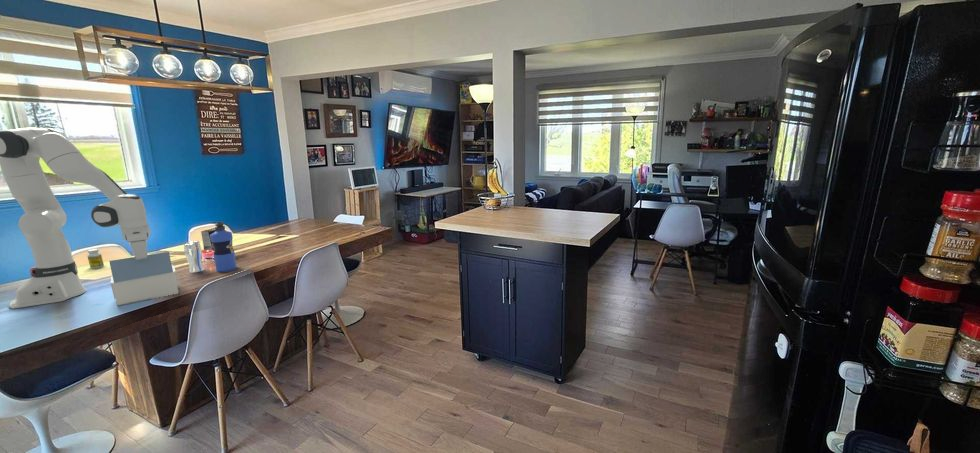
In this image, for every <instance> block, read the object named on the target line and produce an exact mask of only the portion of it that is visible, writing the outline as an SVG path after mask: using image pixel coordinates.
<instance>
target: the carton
mask: <svg viewBox="0 0 980 453" xmlns="http://www.w3.org/2000/svg"><path fill="white" fill-rule="evenodd" d="M172 269H173V272H171V273H165V274H160V275H154V276H149V277H143V278H138V279H132V280H127V281H121V282H116V283H114V281H113V276H112V275H111V276H110V286H111V292H112V295H113V298H114V300H115V301H116V305H117V307H120V306H121V307H122V306H126V305H130V304H136V303H139V302H145V301H149V300H156V299H158V298H159V297H160V298H164V296H165V297H168V295H169V296H173V294H174V295H178V293H180V292H179V281H178V277H177V276H178V275H177V271H176V268H175V266H174V264H172Z"/></svg>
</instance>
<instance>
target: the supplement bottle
mask: <svg viewBox="0 0 980 453" xmlns="http://www.w3.org/2000/svg"><path fill="white" fill-rule="evenodd" d="M87 253H88V254H87V260H88V264H89V267H90V269H99V268H102V267H104V266H105V264H104V260H103V256H102V255H103V254H102V253H101V252H99V248H92V249H88V250H87Z"/></svg>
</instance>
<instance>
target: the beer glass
mask: <svg viewBox="0 0 980 453" xmlns="http://www.w3.org/2000/svg"><path fill="white" fill-rule="evenodd" d="M201 246H202V245H201V242H200V241H199V240H195V241H194V240H193V241H188V242H187V241H186V242H184V243H183V251H184V255H185V258H186V260H187V263H188V267H189V268H188V269H189V271H188V272H189V273H192V274H194V273H200V272H203V271H204V270H205V269H204V267H203V263H202V259H203V258H202V257H203V256H202V255H203V254H202V253H203V251H202V247H201Z"/></svg>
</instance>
